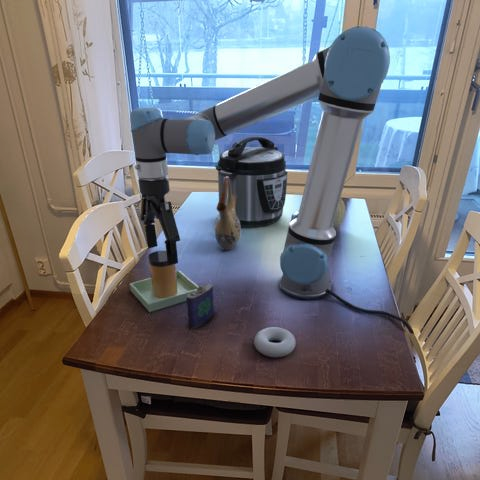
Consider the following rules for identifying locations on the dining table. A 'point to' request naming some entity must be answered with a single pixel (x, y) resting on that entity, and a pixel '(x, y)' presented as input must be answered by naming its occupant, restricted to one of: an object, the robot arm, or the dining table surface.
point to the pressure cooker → (255, 181)
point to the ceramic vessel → (227, 219)
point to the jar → (162, 275)
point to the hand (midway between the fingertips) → (162, 255)
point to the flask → (200, 305)
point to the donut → (271, 348)
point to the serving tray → (154, 303)
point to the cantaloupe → (339, 214)
